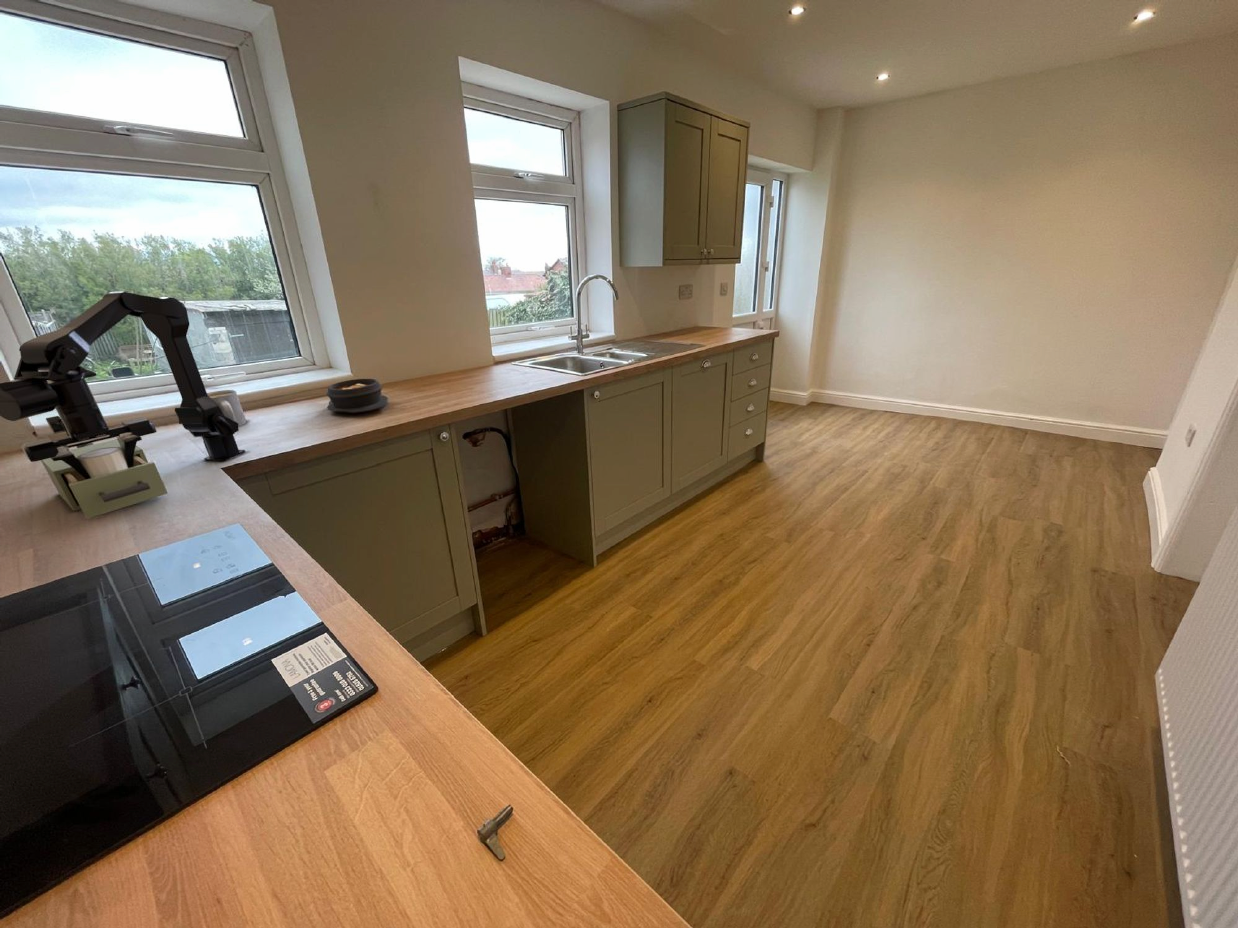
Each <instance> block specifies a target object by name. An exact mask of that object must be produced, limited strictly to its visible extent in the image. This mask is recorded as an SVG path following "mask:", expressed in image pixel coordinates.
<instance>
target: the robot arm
mask: <svg viewBox="0 0 1238 928" xmlns="http://www.w3.org/2000/svg"><path fill="white" fill-rule="evenodd" d="M128 316H130V317H135V318H140V319H141V321H142V322H143V324H144V326H145V328H146V329H147V330H149V332H150V333H152V334H153V335H154V336H155V337H156V338H157V339H158V340H159V342H160V346H161V348H162V350H163V353H164V355H165V359H166V361H167V364H168V366H169V369H170V371H171V375H172V376H173V379H174V381H175V383H176V387H177V389H178V391H179V394H180V396H181V402H180V405H179V407H174V413H175V414H176V416H177V419H178V424H179V425H182V427H183V428H184V429H185V430H187V431H189V433H190V434H192V436H193V437H194V438H202V441H203V445H204V447H205V449H206V452H207V454H208V456H205V457H204V458H203V459H204V461H211V462H212V461H213V462H226V461H228V460H230V459H233V458H235V457H237V456H240V455H242V454H245V453H246V449H239V447H238V444H237V442H236V438H235V436H234V435H235V434H236V433H238V432H239V426H238V423H237V422H235V421H233V420H231V419H229V418H227V417H225V416H224V414H223V412H222V410H221V408H220V406H219V405H218V404H217V403H216V402H215V401H214V400H212V399H211V398H210V397H209V396H208V394H207V393H208V392H207V389H206V386H205V384H204V382H203V379H202V376H201V373H200V370H199V368H198V365H197V362H196V359H195V357H194V354H193V351H192V349H191V346H190V343H189V340H188V338H187V337H188V336H187V335H188V331H189V328H190V319H189V315H188V310H187V308H186V305H185V304H184V303H183V302H181V300H179V299H177V298H175V297H169V296H168V297H166V296H165V297H155V296H149V295H143V294H137V293H133V292H129V291H110V292H107V293H106V294H104V295H103V296H102V298H101V299H99V300H98V301H97V302H95V303H94V304H93V305H92V306H90V307H88V308H87V309H86V310H85V311H83V312H82V313H80V314H79V315H77V316H76V317H75V318H74V319H72V320H71V321H69V322H68V323H67V324H65V325H64V326H63V327H60V328H58V329H56V330H53V331H50V332H46V333H44V334H40V335H38V336H36V337H33V338H31V339H29V340H26V341H24V342H22V344H21V345H20V347H19V348H18V351H19V352H20V353H19V354H20V358H19V362H18V365H17V367H16V371H15V374H14V377H13V379H12V380H7V381H0V417H1V418H3V419H5V420H6V421H10V422H16V421H20V420H23V419H27V418H30V417H34V416H38V415H42V414H46V413H49V412H53V411H54V410H55V411H56V413H57V414H58V415H53V416H50V417H45V421H46V423H47V424H48V426H49V428H50V430H51V432H52V434H54V435H56V434H61V433H65V435H66V436H67V437H66V438H63V439H58V440H54V441H53V440H52V439H51V438H50V437H44V438H40V439H34V440H31V441H27V442H23V443H22V445H21V446H20V447H21V450H22V451H23V453H24V455H25V456H26V458H27V459H28V460H29V461H30V462H31V463H35V462H39V461H40V462H41V460H44V459H48V458H51V459H52V460H53V461H59V460H62V461H63V462H65V463H66V464H68V465H69V466H71V467H72V468H74V469H75V470H76V471H77V472H78V473H80V474H81V475H82V476H83V477H84V478H85V479H90V476H89V475H88V473H87V472H86V470H85V469H84V468H83V466H82V465H81V464H80V462H79V461H78V460H77V458H76V457H75V455H74V454H73V453H72V452H70V451H69V450H70V448H76V447H77V446H79V445H84V444H88V443H92V442H93V443H96V442H100V441H101V442H102V441H104V440H105V441H106V440H110V439H113V438H116V439H117V440H118V442H119V444H120V446H121V447H122V449H123V452H124V455H125V458H126V461H127V465H128V467H129V468H131V467H133V462H134V451H135V447H136V446H137V443H138V442H141V441H142V440H143V438H142V437H143V436H148V435H153V434H155V433H158V431H157V429H156V426H155V424H154V423H153V421H151V420H149V419H147V418H144V417H143V416H142V417H141V416H140V417H135V418H132V419H127V420H123V421H121V426H116V427H111V428H109V426H108V424H107V421H106V420H105V417H104V415H103V413H102V411H101V409H100V407H99V405H98V403H97V401H96V398H95V396H94V395H93V392H92V390H91V388H90V386H89V383H88V382H87V380H86V379H89V378H93V377H96V376H97V373H96V371H92V370H89V369H87V368H85V367H83V366H82V365H81V364H82V363H83V362H84V361H85V360H86V359H87V357H88V356H89V354H90V348H91V346H92V345H93V344H94V342H96V341H97V340H98V339H100V338H101V337H102V336H103V335H105V334H106V333H107V332H108V331H110V330H111V329H113V327H115V326H116V325H118V323H120V322H121V321H122V320H124V319H125V318H126V317H128ZM82 439H84V440H82ZM85 439H86V440H85ZM79 440H81V441H79Z"/></svg>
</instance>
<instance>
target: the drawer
mask: <svg viewBox="0 0 1238 928" xmlns="http://www.w3.org/2000/svg"><path fill="white" fill-rule="evenodd" d="M62 474H63V476H64V478H65V480H66V482H67V484H68V486H69V488H70V489H71V491H72V493H73V495H74V497H75V499H76V500H77V501H78V503H79V505H80V507H81V509H80V510H81V511H82V513H83V515H84V516H85V518H86V519H91V518H94V517H97V516H100V515H103V514H107V513H110V512H113V511H116V510H119V509H123V508H126V507H129V506H133V505H135V504H139V503H142V502H144V501H148V500H151V499H155V498H158V497H161V496H165V495H168V493H169V492H168V490H167V488H166V486H165V484H164V481H163V479H162V477H161V475H160V472H159V470H158V467H157V466H156V464H155V462H154V461H148V463H147V462H145V461H144V460H142V459H141V458H139V457H138V456H136V455H134V462H133V467H131V468H127V469H123V470H120V471H116V472H112V473H109V474H105V475H101V476H98V477H94V478H90V479H85V478H84V477H83V476H82V475H81V474H80V473H78V472H77V471H76V470H74V471H70V472H66V473H62Z"/></svg>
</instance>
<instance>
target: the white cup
mask: <svg viewBox="0 0 1238 928" xmlns="http://www.w3.org/2000/svg"><path fill="white" fill-rule="evenodd" d="M77 460H78V461H79V462H80V464H81V465H82V466H83V468H84V469H85V470H86V472H87V473H88V475H89V476H90V478H94V477H98V476H101V475H105V474H109V473H112V472H116V471H120V470H123V469H127V468H129V467H128V465H127V461H126V458H125V455H124V452H123V449H122V447H106V448H101V449H96V450H92V451H89V452H86V453H83V454H81V455H79V456H77Z"/></svg>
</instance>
